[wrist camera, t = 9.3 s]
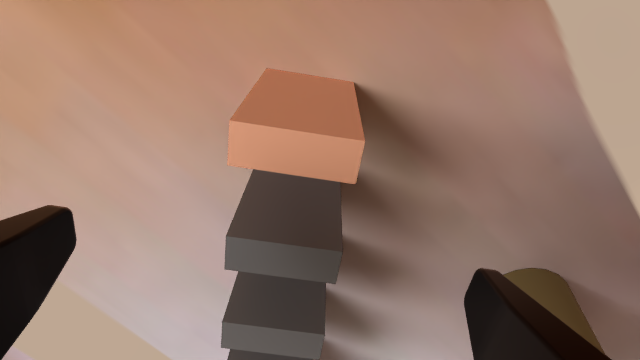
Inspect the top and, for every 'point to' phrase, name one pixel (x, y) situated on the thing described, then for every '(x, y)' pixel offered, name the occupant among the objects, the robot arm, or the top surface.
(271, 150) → the terracotta domino
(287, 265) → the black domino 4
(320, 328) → the grey rectangular block
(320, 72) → the top surface
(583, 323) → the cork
